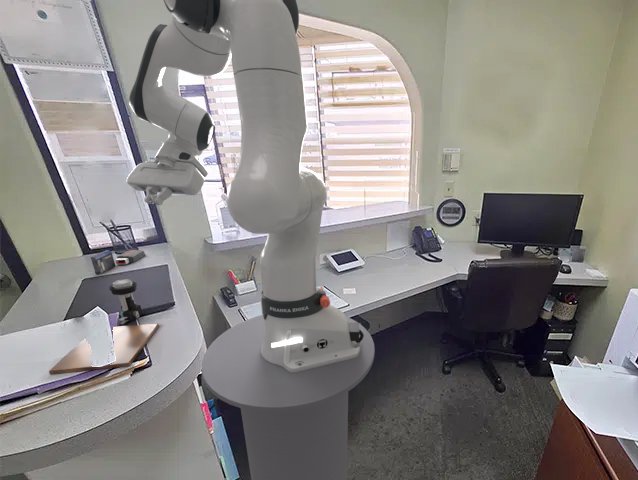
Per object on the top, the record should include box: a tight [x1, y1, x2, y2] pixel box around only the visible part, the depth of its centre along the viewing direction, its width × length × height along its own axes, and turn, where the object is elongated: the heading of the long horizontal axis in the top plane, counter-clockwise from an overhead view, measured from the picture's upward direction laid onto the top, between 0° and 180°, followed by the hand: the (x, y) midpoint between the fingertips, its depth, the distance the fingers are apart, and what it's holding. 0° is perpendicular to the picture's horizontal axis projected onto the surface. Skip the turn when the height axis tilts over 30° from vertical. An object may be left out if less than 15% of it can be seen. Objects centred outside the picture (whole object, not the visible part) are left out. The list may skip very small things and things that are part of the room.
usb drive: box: [114, 249, 146, 265], centre depth 119 cm, size 5×12×3 cm, turn 11°
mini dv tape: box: [90, 249, 116, 275], centre depth 107 cm, size 8×2×6 cm, turn 9°
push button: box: [108, 278, 143, 325], centre depth 77 cm, size 7×5×10 cm
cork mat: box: [48, 323, 160, 375], centre depth 67 cm, size 13×16×1 cm
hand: (152, 203), depth 81 cm, fingers closed
